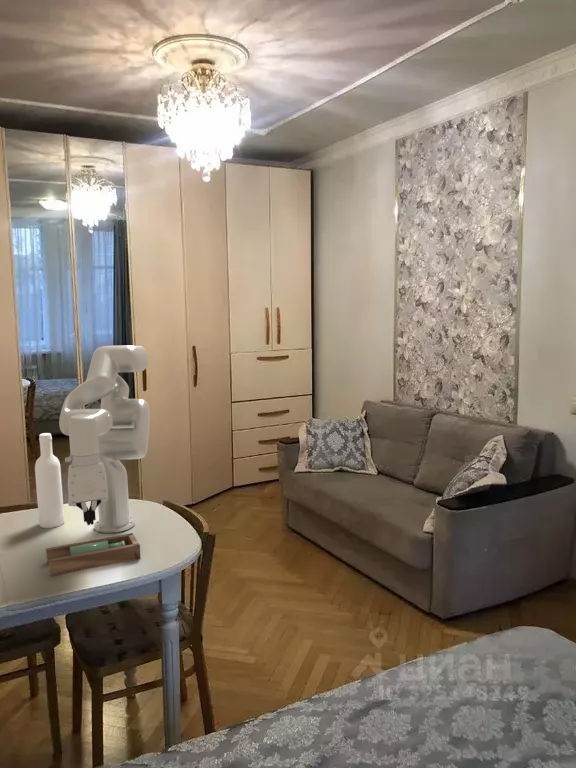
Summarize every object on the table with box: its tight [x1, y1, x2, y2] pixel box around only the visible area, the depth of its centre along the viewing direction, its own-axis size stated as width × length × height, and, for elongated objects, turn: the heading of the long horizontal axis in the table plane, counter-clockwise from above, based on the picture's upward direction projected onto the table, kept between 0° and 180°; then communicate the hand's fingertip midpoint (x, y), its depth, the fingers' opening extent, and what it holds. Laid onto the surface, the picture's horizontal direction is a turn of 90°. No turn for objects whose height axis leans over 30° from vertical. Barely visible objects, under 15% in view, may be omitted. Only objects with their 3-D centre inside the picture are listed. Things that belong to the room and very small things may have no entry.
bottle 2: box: [70, 540, 125, 556], centre depth 179 cm, size 5×5×15 cm
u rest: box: [45, 532, 141, 577], centre depth 178 cm, size 10×24×4 cm, turn 115°
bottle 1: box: [34, 432, 65, 529], centre depth 205 cm, size 8×8×30 cm
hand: (89, 523), depth 177 cm, fingers closed
